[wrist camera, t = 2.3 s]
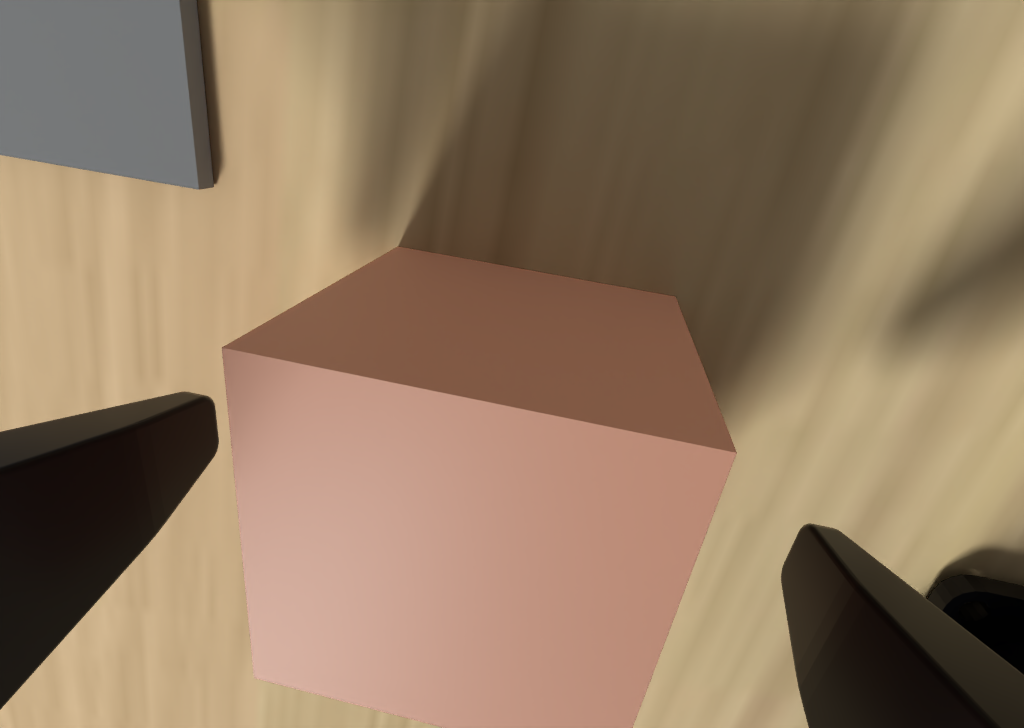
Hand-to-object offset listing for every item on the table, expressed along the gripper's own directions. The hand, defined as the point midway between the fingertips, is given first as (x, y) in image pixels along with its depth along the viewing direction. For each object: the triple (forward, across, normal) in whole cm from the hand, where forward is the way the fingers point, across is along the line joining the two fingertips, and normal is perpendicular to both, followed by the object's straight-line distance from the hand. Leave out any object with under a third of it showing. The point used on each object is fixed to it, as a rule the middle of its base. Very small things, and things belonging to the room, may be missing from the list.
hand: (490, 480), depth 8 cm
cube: (+3, 0, 0) cm, 3 cm away
